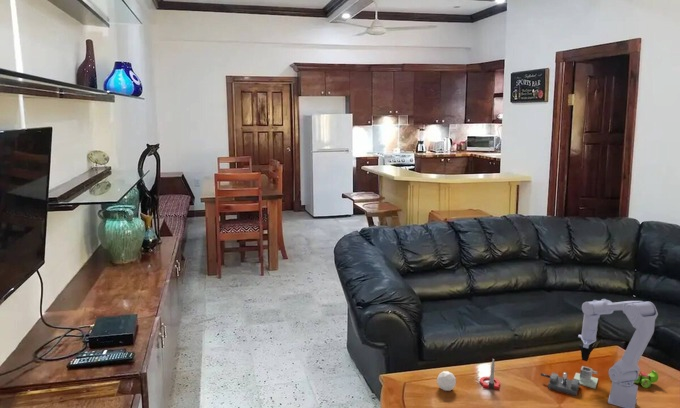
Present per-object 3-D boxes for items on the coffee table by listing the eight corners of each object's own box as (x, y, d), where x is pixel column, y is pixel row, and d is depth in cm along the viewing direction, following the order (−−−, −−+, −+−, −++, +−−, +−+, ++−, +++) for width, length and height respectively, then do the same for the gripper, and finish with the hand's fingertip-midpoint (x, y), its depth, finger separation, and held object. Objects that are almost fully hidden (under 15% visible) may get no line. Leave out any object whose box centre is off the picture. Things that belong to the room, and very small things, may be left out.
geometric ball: (449, 393, 220) (462, 380, 218) (443, 396, 213) (456, 382, 211) (436, 379, 223) (448, 366, 222) (430, 381, 216) (443, 367, 215)
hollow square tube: (596, 380, 227) (597, 369, 226) (595, 384, 223) (596, 374, 222) (580, 376, 230) (582, 365, 229) (579, 380, 227) (580, 369, 226)
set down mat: (598, 379, 229) (598, 378, 229) (595, 388, 221) (595, 387, 221) (575, 373, 233) (575, 372, 233) (572, 382, 226) (572, 381, 226)
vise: (579, 386, 223) (581, 372, 221) (576, 396, 215) (577, 381, 214) (542, 376, 230) (543, 362, 229) (538, 385, 223) (539, 371, 222)
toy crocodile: (611, 385, 225) (613, 372, 224) (605, 377, 231) (607, 364, 230) (660, 389, 223) (662, 376, 221) (653, 381, 229) (655, 368, 228)
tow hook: (478, 378, 228) (480, 388, 219) (480, 350, 227) (483, 359, 218) (498, 380, 227) (501, 390, 218) (500, 352, 225) (504, 361, 216)
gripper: (581, 320, 234) (578, 348, 237) (577, 331, 222) (573, 361, 225) (599, 323, 231) (595, 352, 233) (595, 335, 219) (591, 365, 221)
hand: (585, 357), depth 229 cm, fingers open, 7 cm apart
